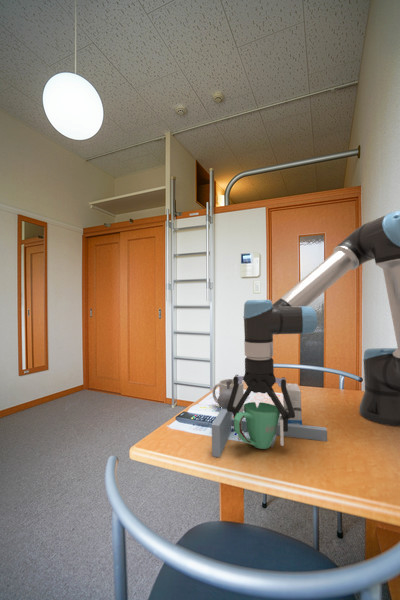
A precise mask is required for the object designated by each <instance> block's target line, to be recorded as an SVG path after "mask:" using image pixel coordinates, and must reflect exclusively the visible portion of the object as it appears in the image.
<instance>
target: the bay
mask: <svg viewBox="0 0 400 600" xmlns="http://www.w3.org/2000/svg"><path fill="white" fill-rule="evenodd" d="M227 379H228V380H227V389H225V390H223V391H222V393H221V394H220V396H218V397H217V399H218V403H217V404H218V406H219V408H220V407H222V409H221V410H220V409H219V411H218V414H217V416H216V417H215V419H213V420H214V421H213V422H212V424H211V453H212V454H211V456H212V457H214V458H221V457H222V454H223V451H224V449H225V446H226V444H227V442H228V439H229V437H230V434H231V433H232V430H231V426H234V416H233V414H232V412H228V411H227V407H228V403H229V400H230V396H231V393H232V390H231V389H230V384H231V383H232V379H233V378H227ZM327 429H328V428H327V427H325V426H324V427H323V426H313V425H305V424H302V425H298V424H289V423H288V431H287V432H284V437H288V438H289V437H290V438H295V439H296V438H297V439H303V440H304V439H305V440H313V441H320V442H328V430H327ZM242 432H246V433H248V430H247V425H246V418H243V419H242ZM274 436H279V437H280V421H278V425H277V429H276V432H275V435H274Z"/></svg>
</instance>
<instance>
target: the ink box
mask: <svg viewBox="0 0 400 600" xmlns="http://www.w3.org/2000/svg"><path fill="white" fill-rule="evenodd" d="M286 388H287V391H288V394H289V397H290V400H291V403H292V406H293V408H294V411H295V417H294V418H289V419H288V423H289V424H298V425H303V416H302V414H303V413H302V392H301V389H300V387H299V385H298V383H289V382H288V383H287V382H286ZM282 398H283V403H282V405H283V407H284V409H285V410H286V412H288V408H287V405H286V402H285V399H284V396H283V395H282Z"/></svg>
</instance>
